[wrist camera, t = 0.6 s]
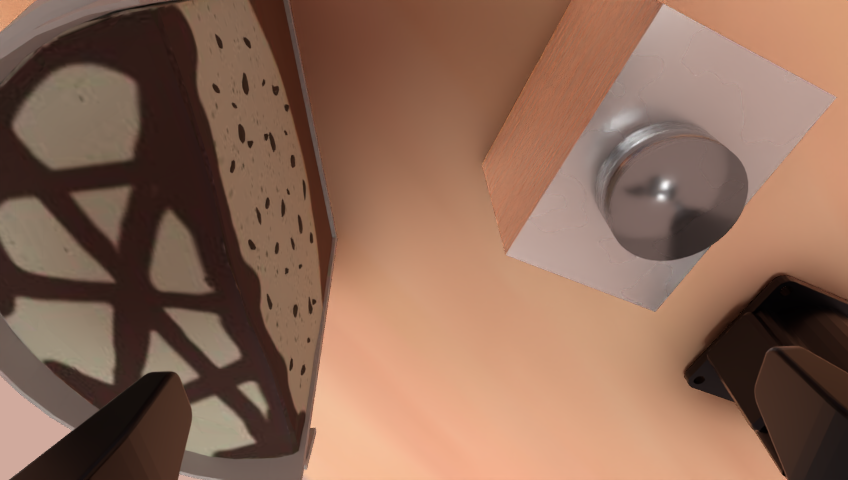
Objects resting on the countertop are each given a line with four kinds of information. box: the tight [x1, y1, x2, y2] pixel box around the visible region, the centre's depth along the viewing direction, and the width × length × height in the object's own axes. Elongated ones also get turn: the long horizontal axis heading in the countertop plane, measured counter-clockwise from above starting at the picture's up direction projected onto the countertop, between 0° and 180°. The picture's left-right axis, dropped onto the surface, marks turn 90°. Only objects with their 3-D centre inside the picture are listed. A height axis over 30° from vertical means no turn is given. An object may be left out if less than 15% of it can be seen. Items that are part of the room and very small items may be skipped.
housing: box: [482, 0, 837, 312], centre depth 16 cm, size 5×7×7 cm
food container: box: [0, 0, 337, 480], centre depth 15 cm, size 12×6×10 cm, turn 5°
